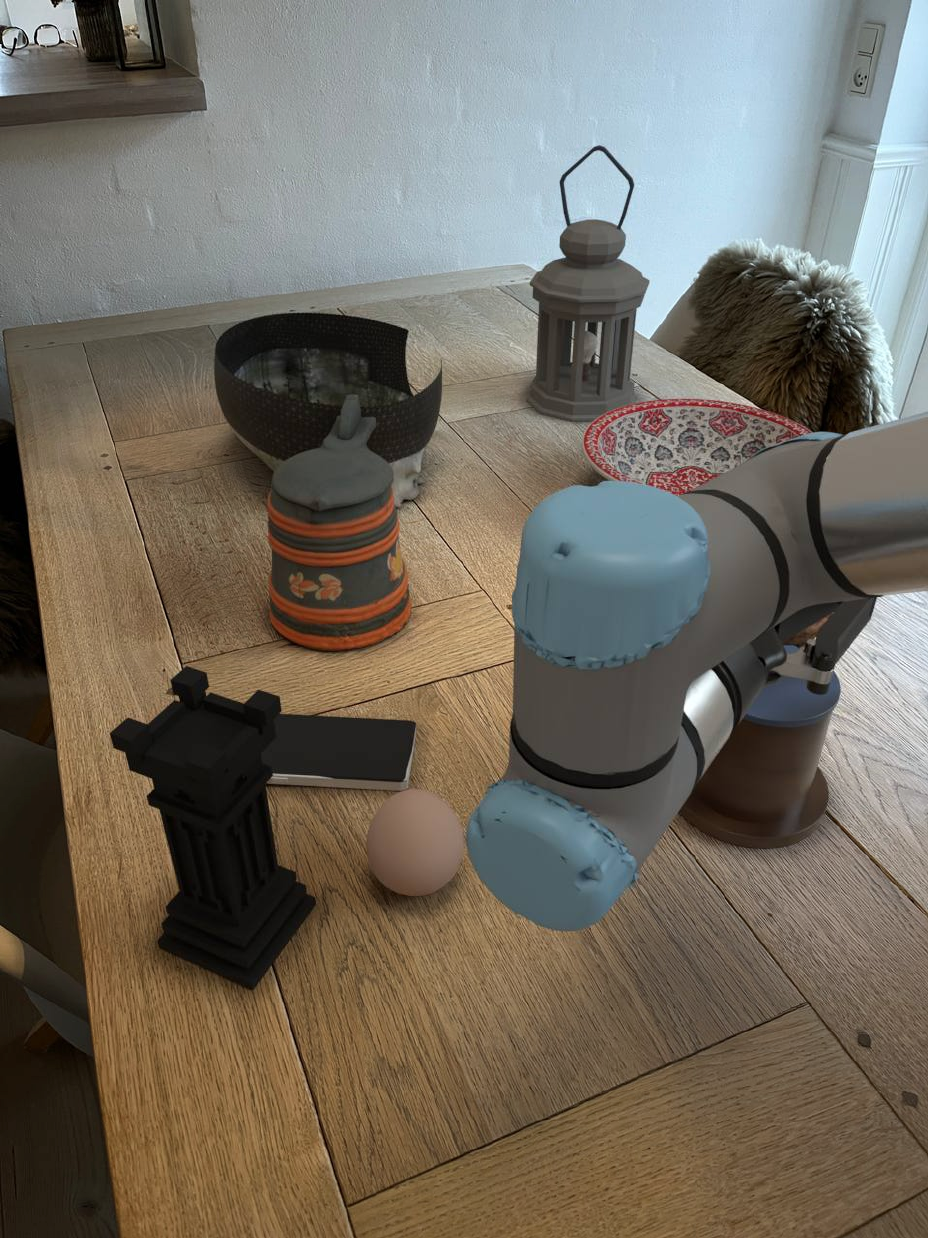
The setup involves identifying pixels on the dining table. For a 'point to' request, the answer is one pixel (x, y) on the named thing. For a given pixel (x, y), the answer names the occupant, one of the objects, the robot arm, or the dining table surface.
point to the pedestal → (768, 770)
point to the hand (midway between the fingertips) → (809, 521)
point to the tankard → (336, 542)
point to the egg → (414, 843)
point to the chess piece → (218, 828)
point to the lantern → (586, 318)
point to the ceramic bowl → (680, 441)
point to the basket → (324, 388)
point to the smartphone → (341, 752)
